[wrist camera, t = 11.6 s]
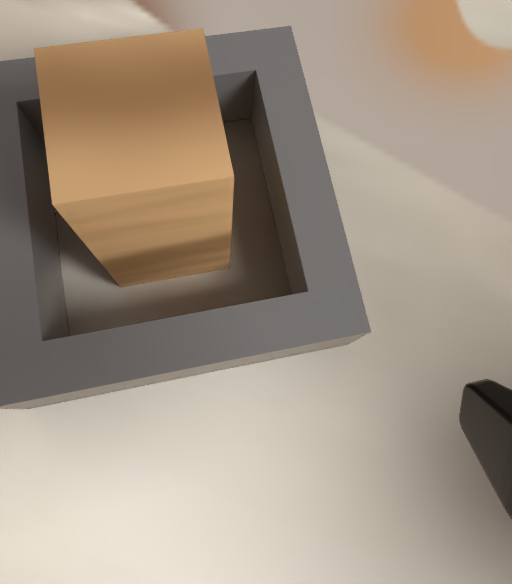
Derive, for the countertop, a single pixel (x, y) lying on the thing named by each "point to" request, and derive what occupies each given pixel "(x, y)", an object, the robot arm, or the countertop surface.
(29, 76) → the collar
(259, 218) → the countertop surface
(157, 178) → the oak block
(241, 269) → the countertop surface
